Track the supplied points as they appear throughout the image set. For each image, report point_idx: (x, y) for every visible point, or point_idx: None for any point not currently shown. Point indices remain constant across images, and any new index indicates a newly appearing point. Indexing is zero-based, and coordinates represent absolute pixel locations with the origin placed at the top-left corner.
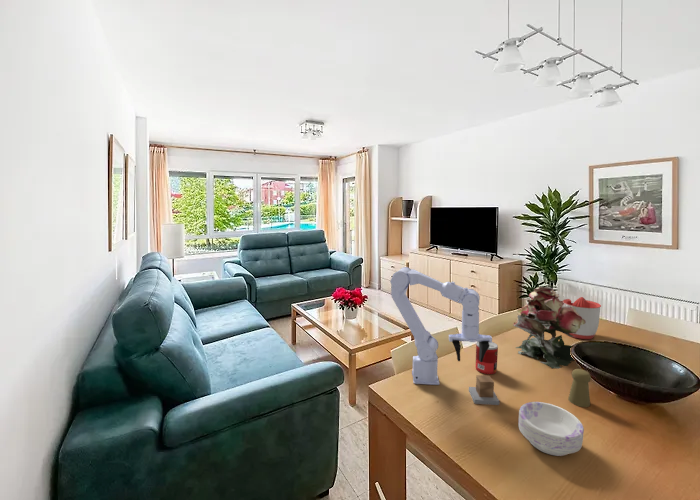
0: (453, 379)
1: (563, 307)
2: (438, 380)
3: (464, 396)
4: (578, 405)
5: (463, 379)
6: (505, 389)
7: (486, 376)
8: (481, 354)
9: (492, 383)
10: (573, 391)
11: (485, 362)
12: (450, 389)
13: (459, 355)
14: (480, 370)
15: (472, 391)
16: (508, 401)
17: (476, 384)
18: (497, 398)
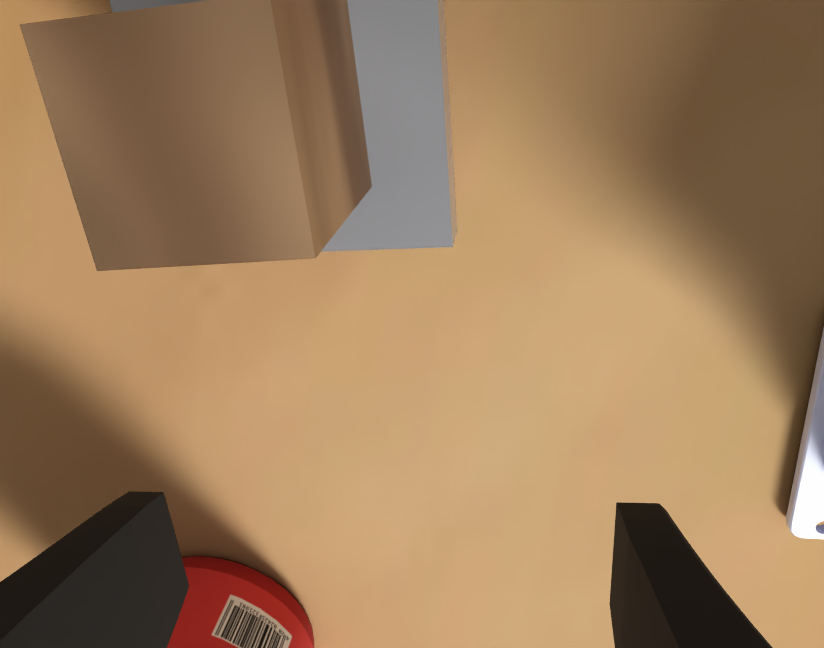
0: (596, 444)
1: None
2: (821, 385)
3: (540, 72)
4: None
5: (477, 453)
6: (53, 305)
7: (148, 228)
8: (29, 631)
9: (60, 19)
10: None
11: None
12: (695, 220)
13: (684, 613)
14: (271, 598)
15: (423, 131)
16: (21, 52)
17: (350, 187)
18: (116, 5)
